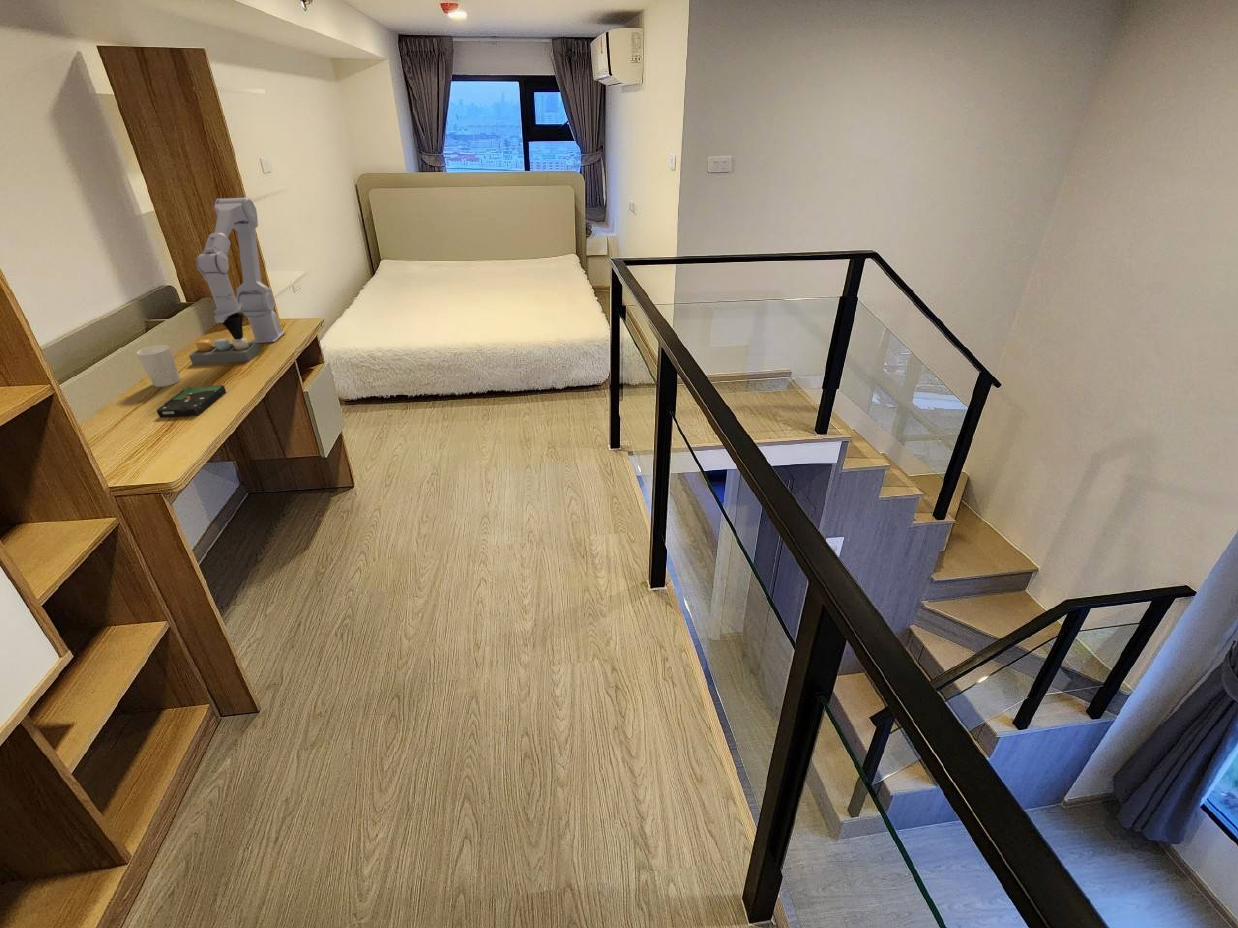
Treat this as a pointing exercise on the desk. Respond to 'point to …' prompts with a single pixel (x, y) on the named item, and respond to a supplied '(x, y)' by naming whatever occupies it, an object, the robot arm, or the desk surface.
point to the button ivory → (240, 343)
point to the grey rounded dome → (222, 344)
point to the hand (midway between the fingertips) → (238, 338)
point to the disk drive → (191, 401)
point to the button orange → (204, 345)
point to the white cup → (159, 365)
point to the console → (225, 355)
